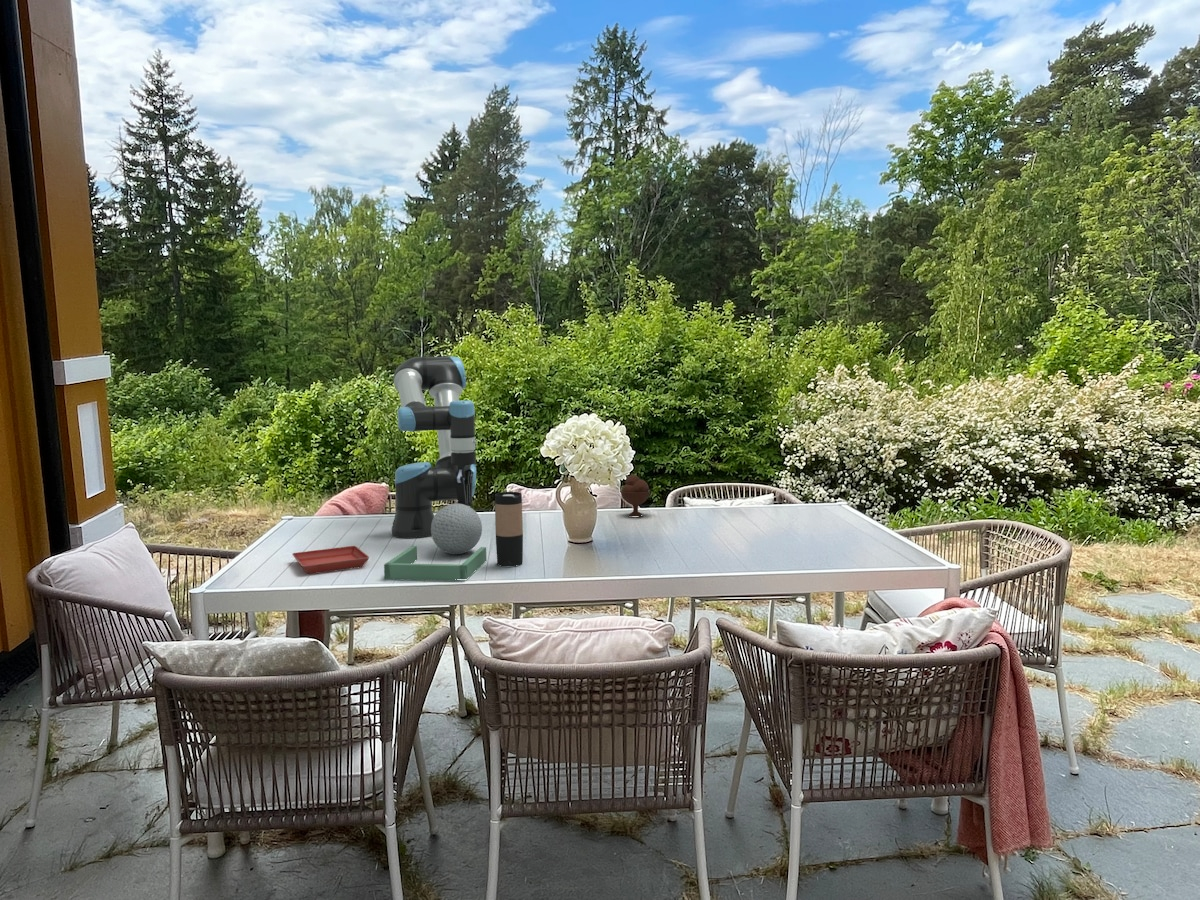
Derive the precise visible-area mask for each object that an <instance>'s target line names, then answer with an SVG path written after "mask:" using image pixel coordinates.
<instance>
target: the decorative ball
mask: <svg viewBox="0 0 1200 900" xmlns="http://www.w3.org/2000/svg"><path fill="white" fill-rule="evenodd" d="M482 524H483V523H482V520H481V517H480V516H479V514H478V513H477V511H476V510H475V509H473V508H472V507H471V506H470V507H469V506H466V505H464V504H458V503H450V504H447V505H445V506H443V507H441V508H440V509H438V511H437V512H436V513H435V514H434V518H433V520H432V523H431V538H432V540H433V543H434V544H435V545H436V547H438V549H440V550H441V551H443V552H445V553H446V554H450V555H462V554H465V553H467V552H469V551H471V550H472V549H474V548H475V547H476V546H477V544H478V543H479V541H480V539H481V536H482V532H483V525H482Z"/></svg>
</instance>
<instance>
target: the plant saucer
mask: <svg viewBox="0 0 1200 900" xmlns="http://www.w3.org/2000/svg"><path fill="white" fill-rule="evenodd" d="M291 555H292V556H293V557H294V560H296V561H297V562H298V564H299V565H300V566H301V567H302V569H303V571H305V572H306V573H307V574H308V575H311V574H314V575H315V574H319V573H328V572H335V570H337V571H342V570H343V569H344V570H350V568H352V569H358V567H359V568H362V567H364V565H365V564H366V563H367V562H368V560H369V559H370V557H369V555H368V554H366V553H365V552H364V551H362V550H361V549H360V548H359V547H358V546H357V545H350V546H342V547H341V546H340V547H331V548H325V549H324V548H323V549H317V550H307V551H300V552H293V553H291ZM344 570H343V571H344Z"/></svg>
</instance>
